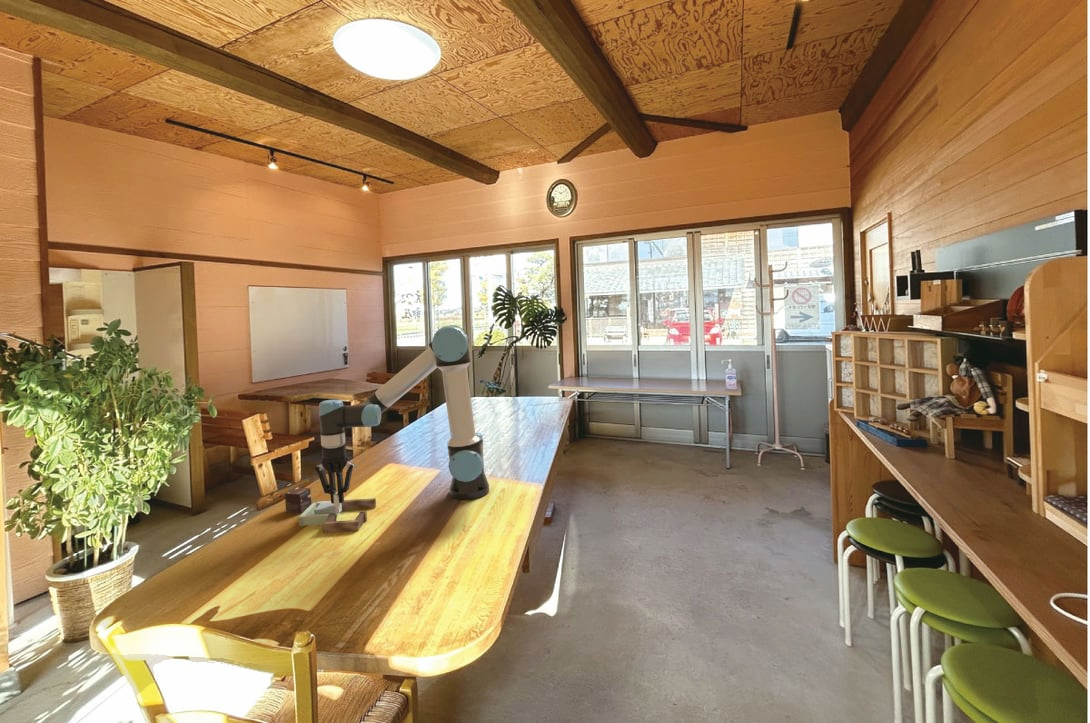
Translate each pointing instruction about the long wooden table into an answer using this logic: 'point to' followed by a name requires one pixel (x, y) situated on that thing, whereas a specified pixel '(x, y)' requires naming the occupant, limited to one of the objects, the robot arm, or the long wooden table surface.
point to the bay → (312, 515)
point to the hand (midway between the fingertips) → (338, 511)
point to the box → (297, 500)
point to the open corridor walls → (351, 525)
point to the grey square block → (325, 509)
